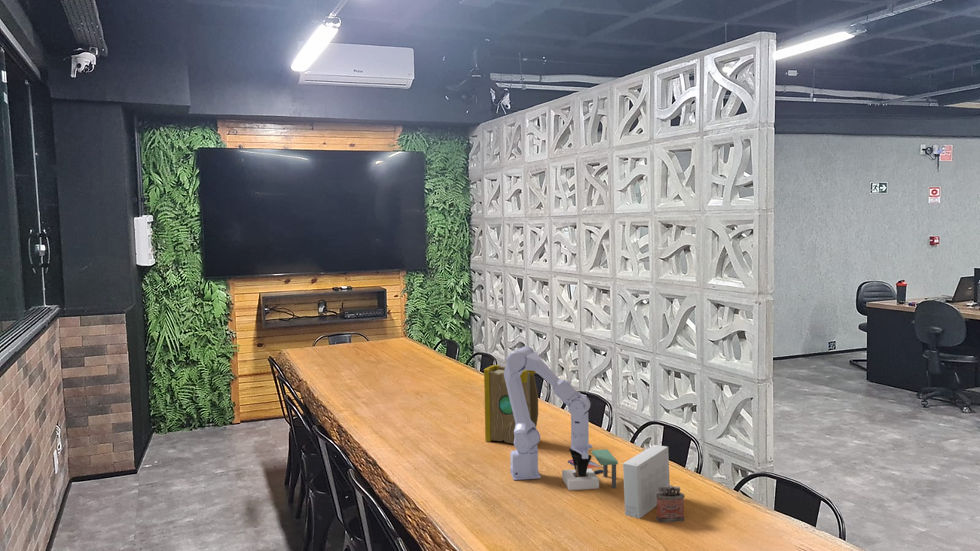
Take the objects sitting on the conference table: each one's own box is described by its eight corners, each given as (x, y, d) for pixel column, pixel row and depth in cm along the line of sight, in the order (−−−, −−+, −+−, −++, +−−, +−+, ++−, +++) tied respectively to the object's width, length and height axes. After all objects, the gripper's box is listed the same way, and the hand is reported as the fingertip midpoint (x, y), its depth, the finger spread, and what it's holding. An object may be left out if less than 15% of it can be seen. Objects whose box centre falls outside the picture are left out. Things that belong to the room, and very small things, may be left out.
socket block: (568, 490, 222) (568, 481, 222) (562, 478, 232) (562, 470, 232) (599, 488, 223) (598, 479, 223) (591, 477, 233) (591, 468, 233)
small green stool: (601, 489, 222) (601, 462, 221) (591, 475, 234) (591, 450, 233) (617, 488, 223) (617, 461, 222) (607, 474, 235) (607, 449, 234)
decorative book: (482, 441, 273) (481, 367, 271) (495, 433, 283) (494, 361, 280) (528, 448, 264) (528, 371, 261) (540, 440, 274) (539, 366, 271)
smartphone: (583, 460, 252) (583, 457, 252) (607, 472, 238) (607, 469, 238) (566, 463, 248) (566, 460, 248) (589, 475, 235) (589, 472, 235)
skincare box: (654, 492, 219) (654, 443, 218) (670, 496, 216) (670, 446, 215) (622, 514, 203) (622, 462, 202) (639, 519, 200) (639, 466, 198)
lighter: (682, 516, 201) (682, 483, 200) (685, 521, 197) (685, 487, 197) (654, 517, 200) (654, 484, 200) (658, 522, 197) (658, 488, 196)
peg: (586, 484, 226) (585, 467, 226) (577, 485, 226) (577, 467, 225) (583, 481, 229) (583, 464, 229) (574, 482, 229) (574, 464, 228)
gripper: (597, 438, 219) (597, 480, 220) (586, 425, 234) (586, 464, 235) (576, 440, 219) (576, 481, 220) (565, 426, 233) (566, 465, 234)
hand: (580, 472), depth 227 cm, fingers open, 5 cm apart
